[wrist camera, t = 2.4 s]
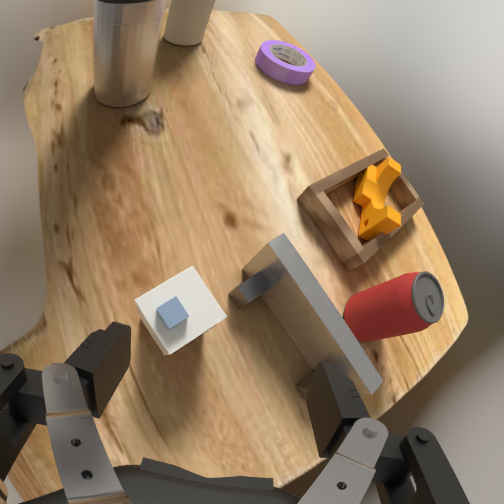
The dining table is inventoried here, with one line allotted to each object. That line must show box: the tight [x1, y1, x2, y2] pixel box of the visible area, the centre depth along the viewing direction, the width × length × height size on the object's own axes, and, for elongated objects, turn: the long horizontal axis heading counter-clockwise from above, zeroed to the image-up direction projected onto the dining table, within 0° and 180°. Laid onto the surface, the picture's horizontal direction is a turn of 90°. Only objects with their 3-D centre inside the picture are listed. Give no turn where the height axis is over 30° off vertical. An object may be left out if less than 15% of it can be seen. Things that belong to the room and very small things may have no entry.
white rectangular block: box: [135, 266, 227, 356], centre depth 24 cm, size 5×5×11 cm
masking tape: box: [255, 40, 315, 85], centre depth 50 cm, size 12×12×4 cm
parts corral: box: [297, 149, 424, 271], centre depth 42 cm, size 12×21×4 cm, turn 127°
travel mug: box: [164, 0, 215, 46], centre depth 38 cm, size 8×8×18 cm
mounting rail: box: [229, 233, 383, 400], centre depth 30 cm, size 18×8×8 cm, turn 37°
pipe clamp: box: [353, 157, 401, 241], centre depth 41 cm, size 12×4×6 cm, turn 161°
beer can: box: [344, 271, 444, 342], centre depth 31 cm, size 7×7×12 cm
